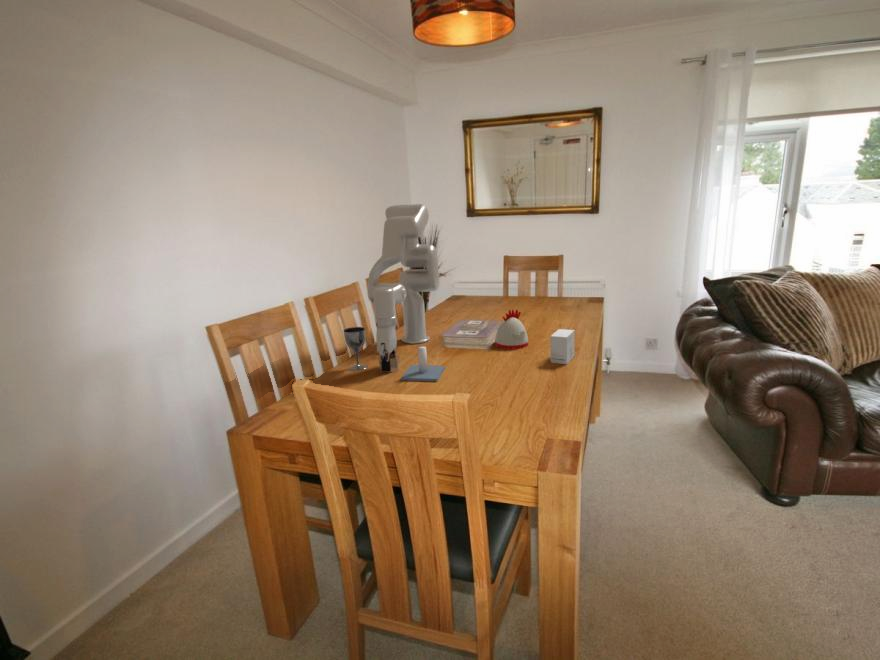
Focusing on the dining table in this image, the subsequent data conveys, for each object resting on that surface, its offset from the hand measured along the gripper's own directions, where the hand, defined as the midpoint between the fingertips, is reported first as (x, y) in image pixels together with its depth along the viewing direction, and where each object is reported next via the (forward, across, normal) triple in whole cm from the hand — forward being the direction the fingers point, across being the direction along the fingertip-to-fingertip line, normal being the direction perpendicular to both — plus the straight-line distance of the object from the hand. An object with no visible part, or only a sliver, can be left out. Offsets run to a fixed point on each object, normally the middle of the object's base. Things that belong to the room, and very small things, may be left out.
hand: (389, 367), depth 173 cm
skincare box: (+1, -16, +63) cm, 65 cm away
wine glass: (+1, -1, -13) cm, 13 cm away
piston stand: (+1, +4, +14) cm, 15 cm away
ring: (+1, 0, 0) cm, 1 cm away
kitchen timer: (+1, -34, +43) cm, 55 cm away
